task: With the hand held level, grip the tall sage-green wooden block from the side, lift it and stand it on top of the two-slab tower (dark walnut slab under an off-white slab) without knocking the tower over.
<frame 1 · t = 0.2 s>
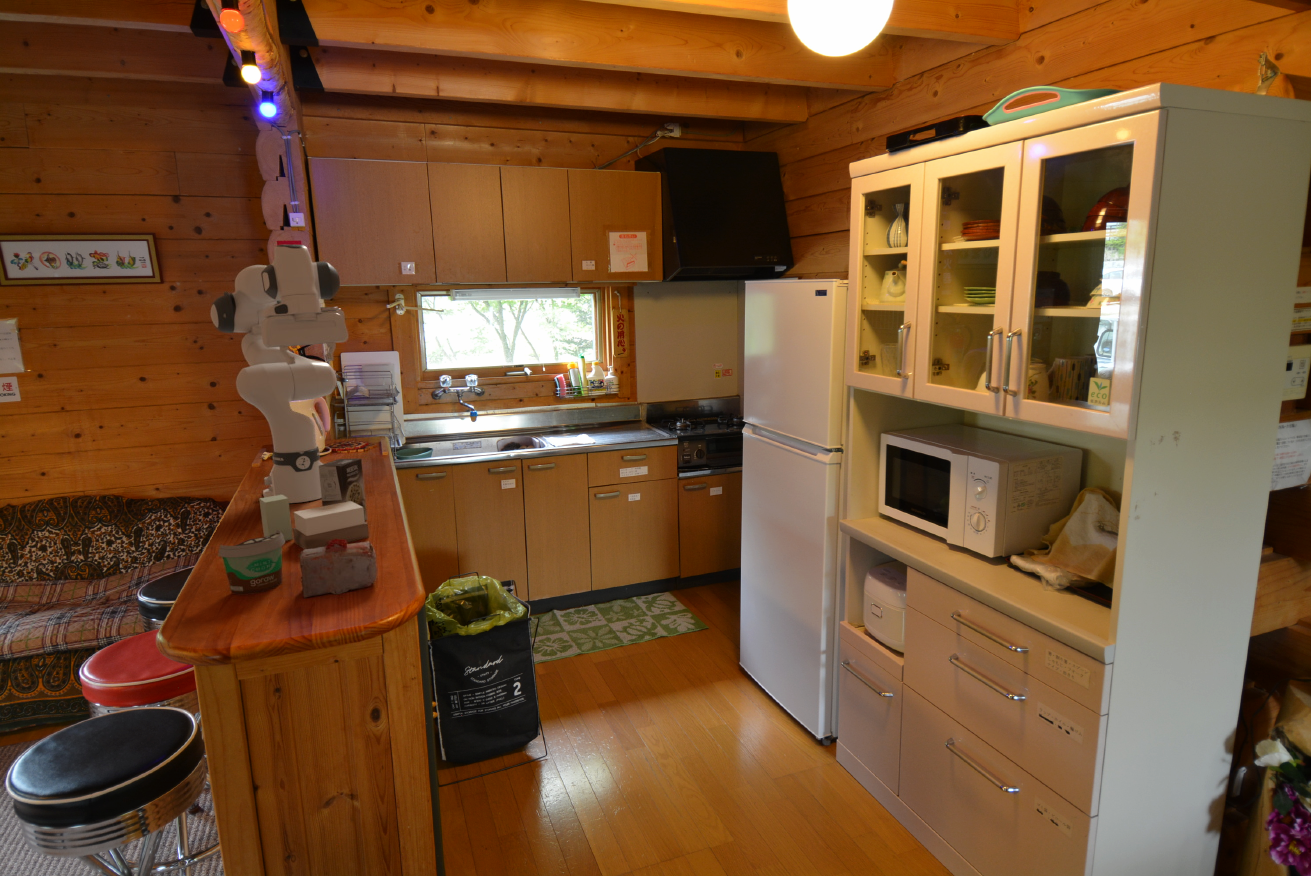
hand: (310, 362, 191), 40 cm above the table, tool pointing down, fingers open, 8 cm apart
walnut slab: (332, 542, 176), on the table
food item: (341, 589, 145), on the table
white slab: (330, 526, 175), point 3 cm above the table
green block: (278, 539, 177), on the table
coffee box: (346, 525, 188), on the table
food container: (264, 588, 146), on the table
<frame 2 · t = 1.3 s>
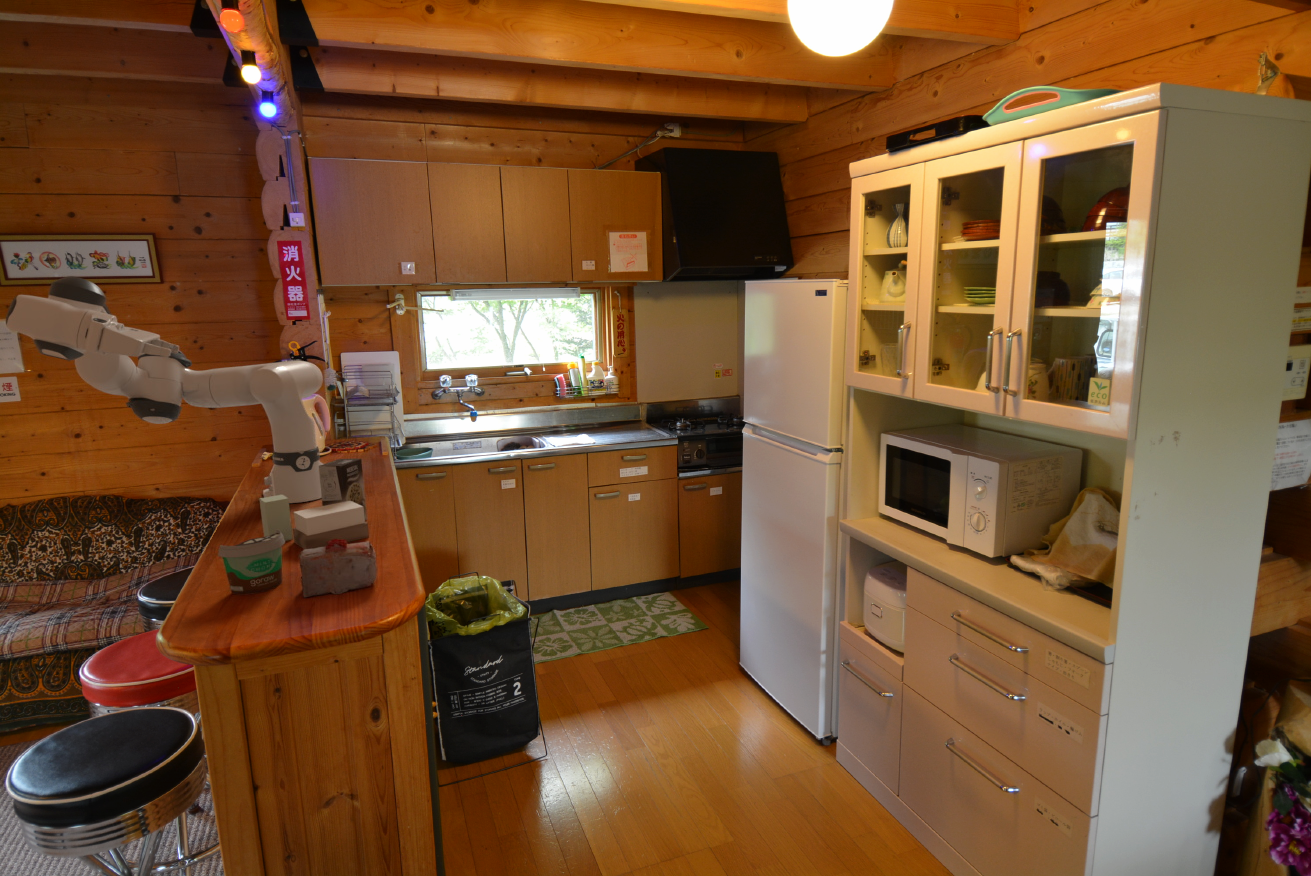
hand: (174, 351, 168), 45 cm above the table, tool tilted 70°, fingers open, 8 cm apart
walnut slab: (332, 541, 176), on the table, touching white slab
white slab: (330, 525, 175), point 3 cm above the table, touching walnut slab
everything else where it was.
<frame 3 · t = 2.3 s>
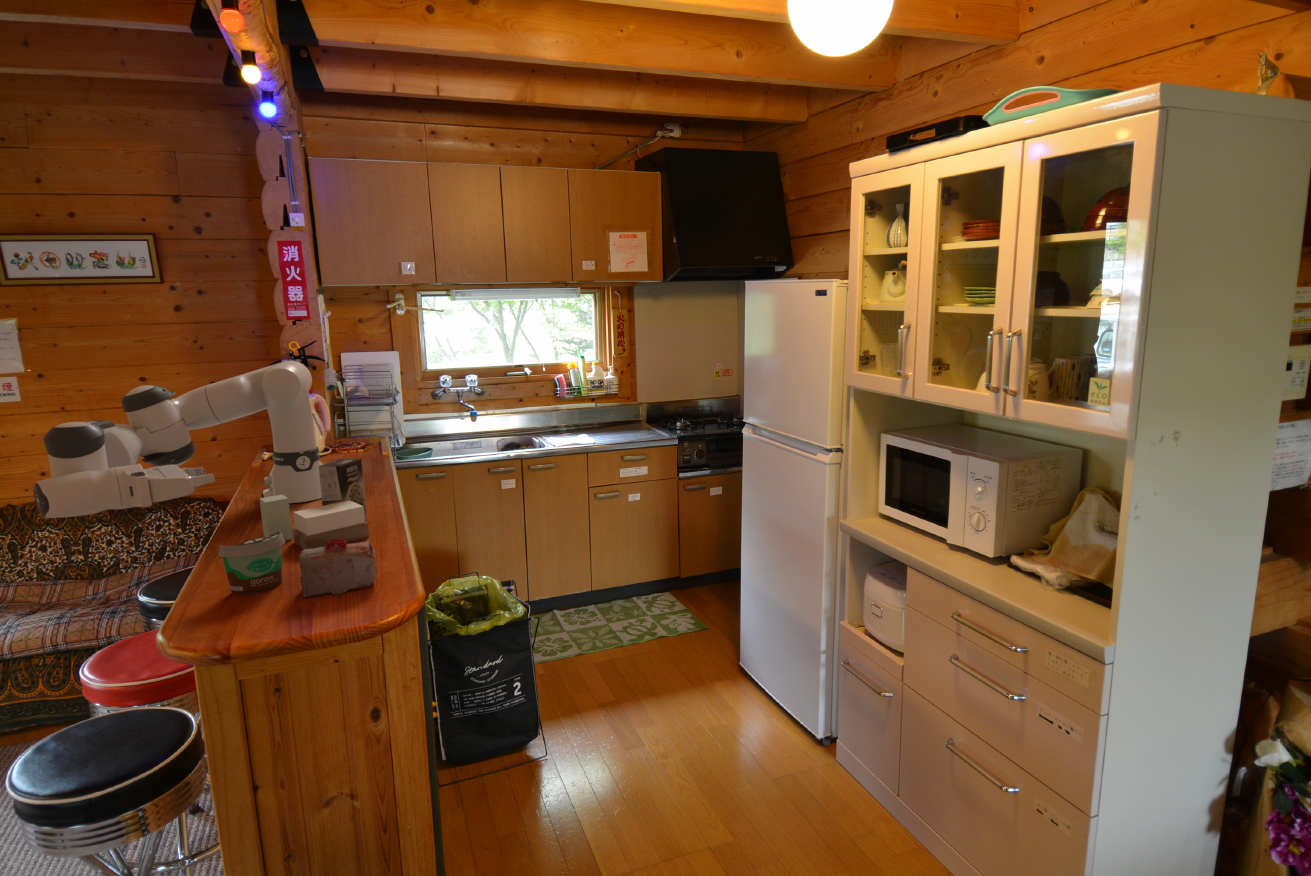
hand: (209, 474, 166), 18 cm above the table, tool horizontal, fingers open, 8 cm apart
nothing on the table moved.
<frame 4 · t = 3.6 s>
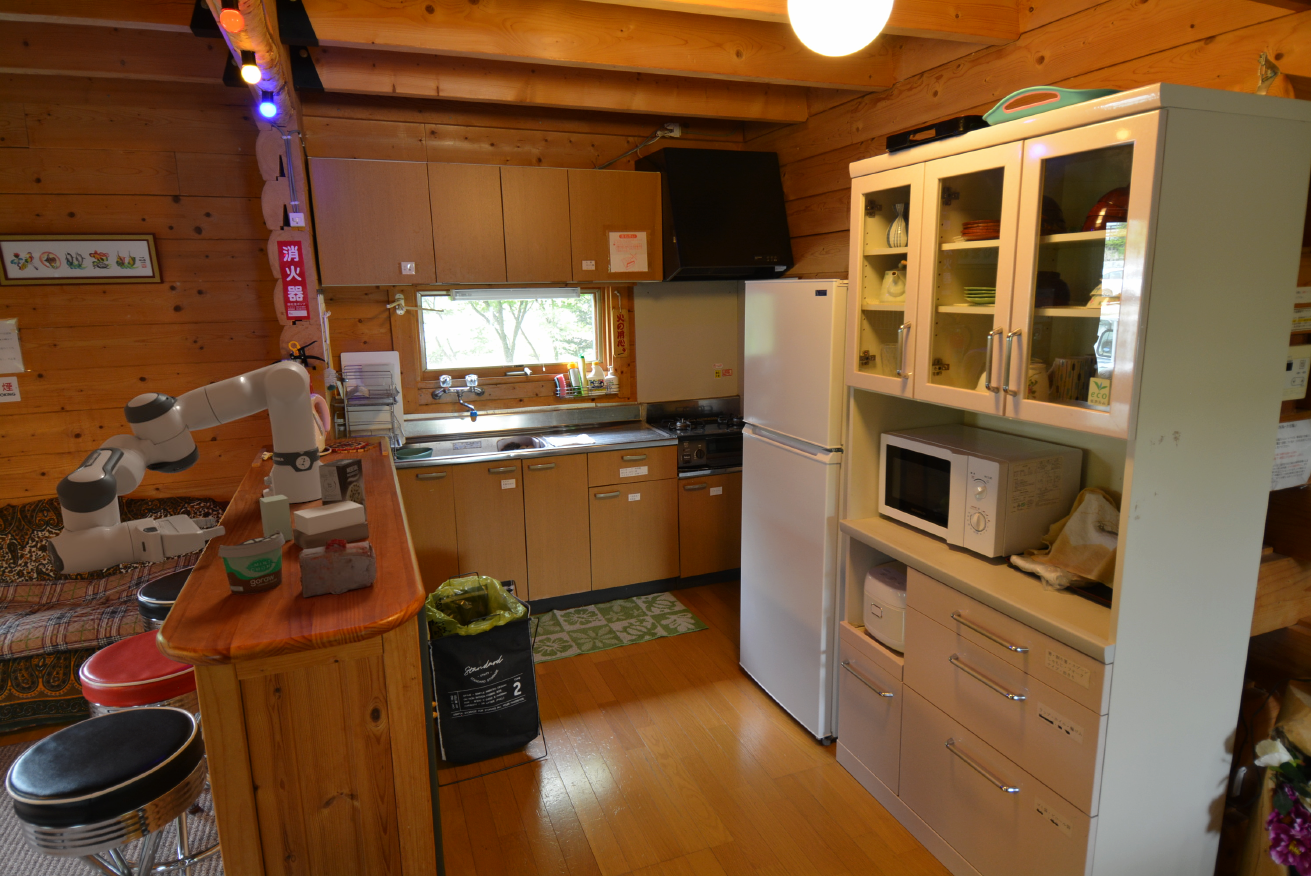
hand: (219, 525, 168), 6 cm above the table, tool horizontal, fingers open, 8 cm apart
nothing on the table moved.
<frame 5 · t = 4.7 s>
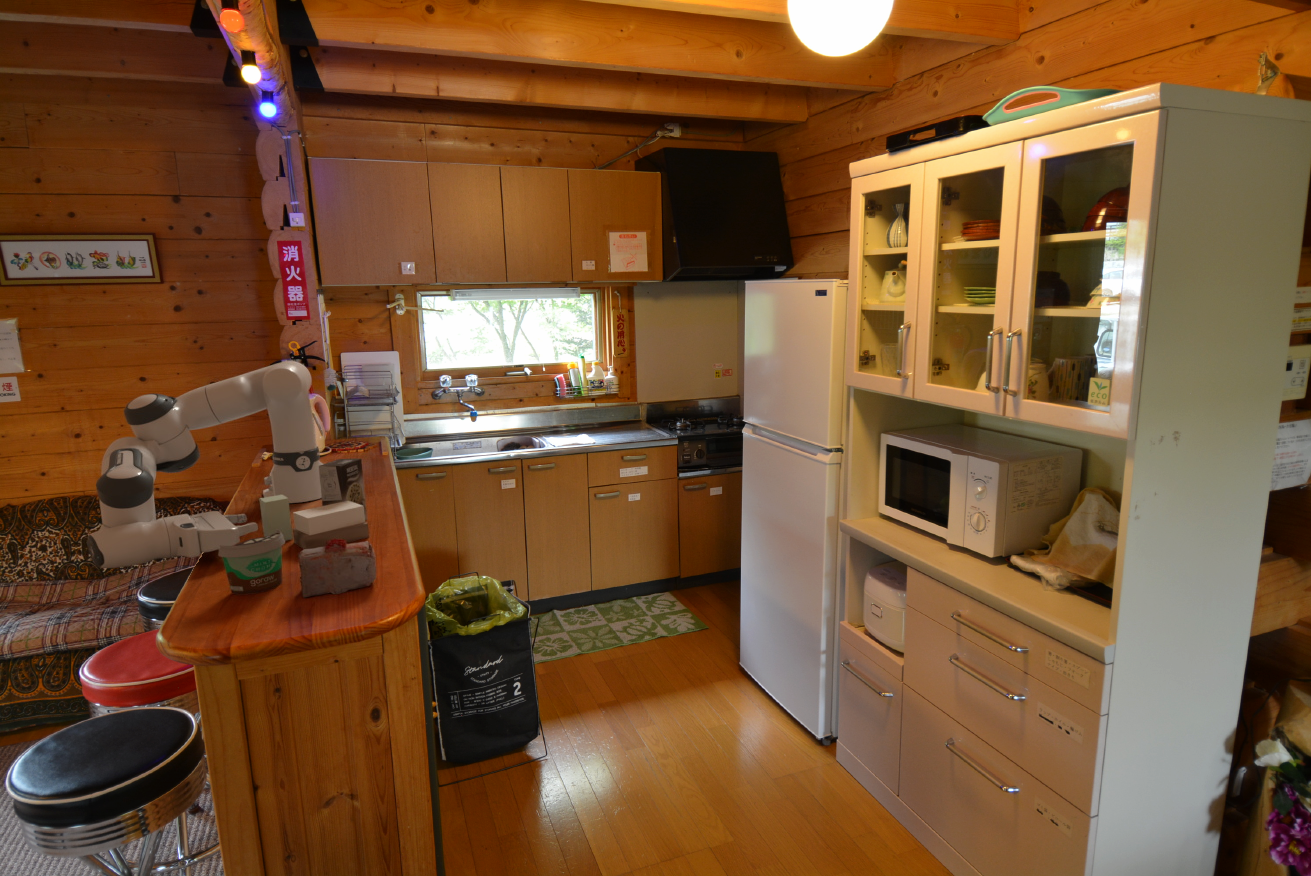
hand: (251, 521, 172), 5 cm above the table, tool horizontal, fingers open, 8 cm apart
nothing on the table moved.
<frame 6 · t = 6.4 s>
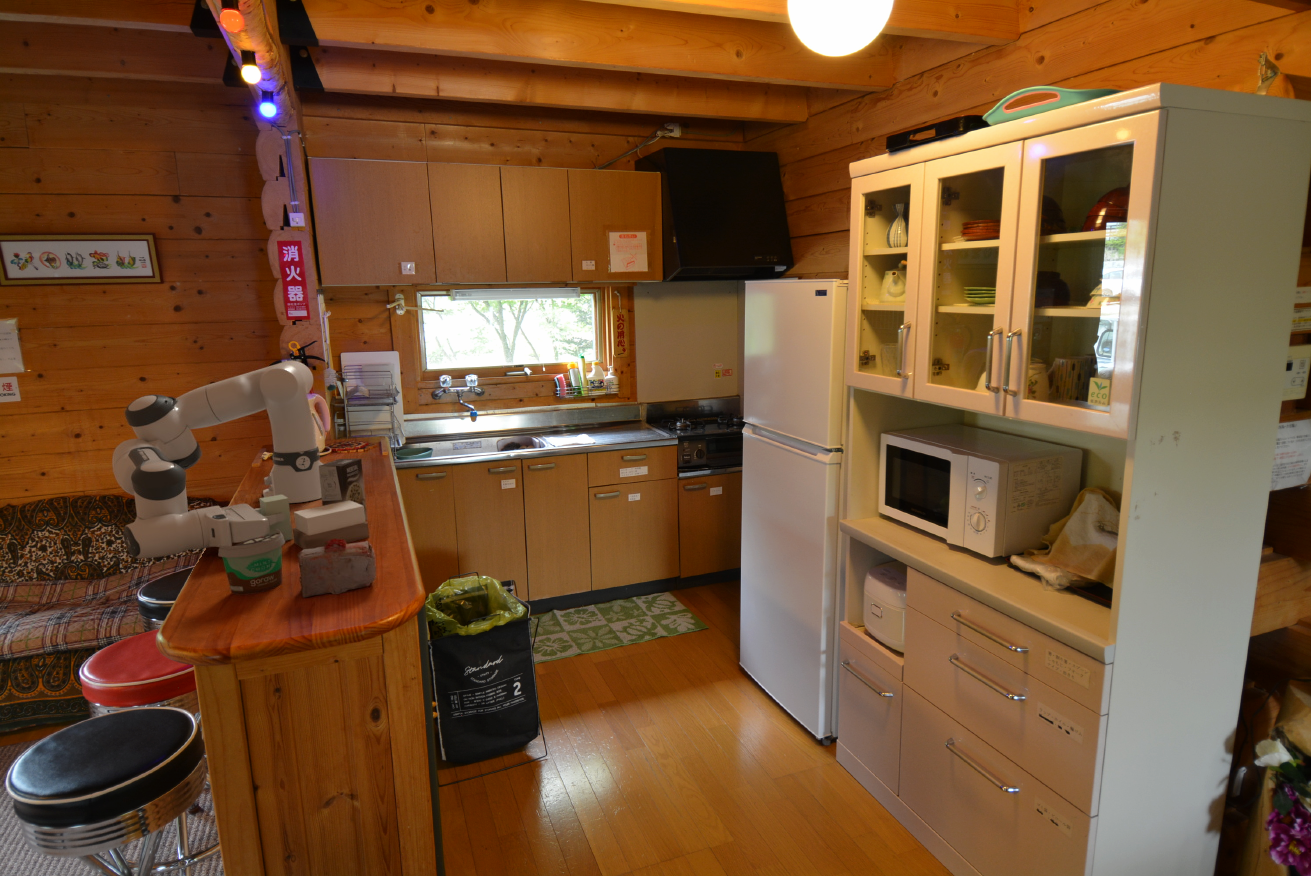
hand: (279, 513, 177), 6 cm above the table, tool horizontal, fingers closed on green block, 5 cm apart
green block: (278, 539, 177), on the table, touching gripper
everything else where it was.
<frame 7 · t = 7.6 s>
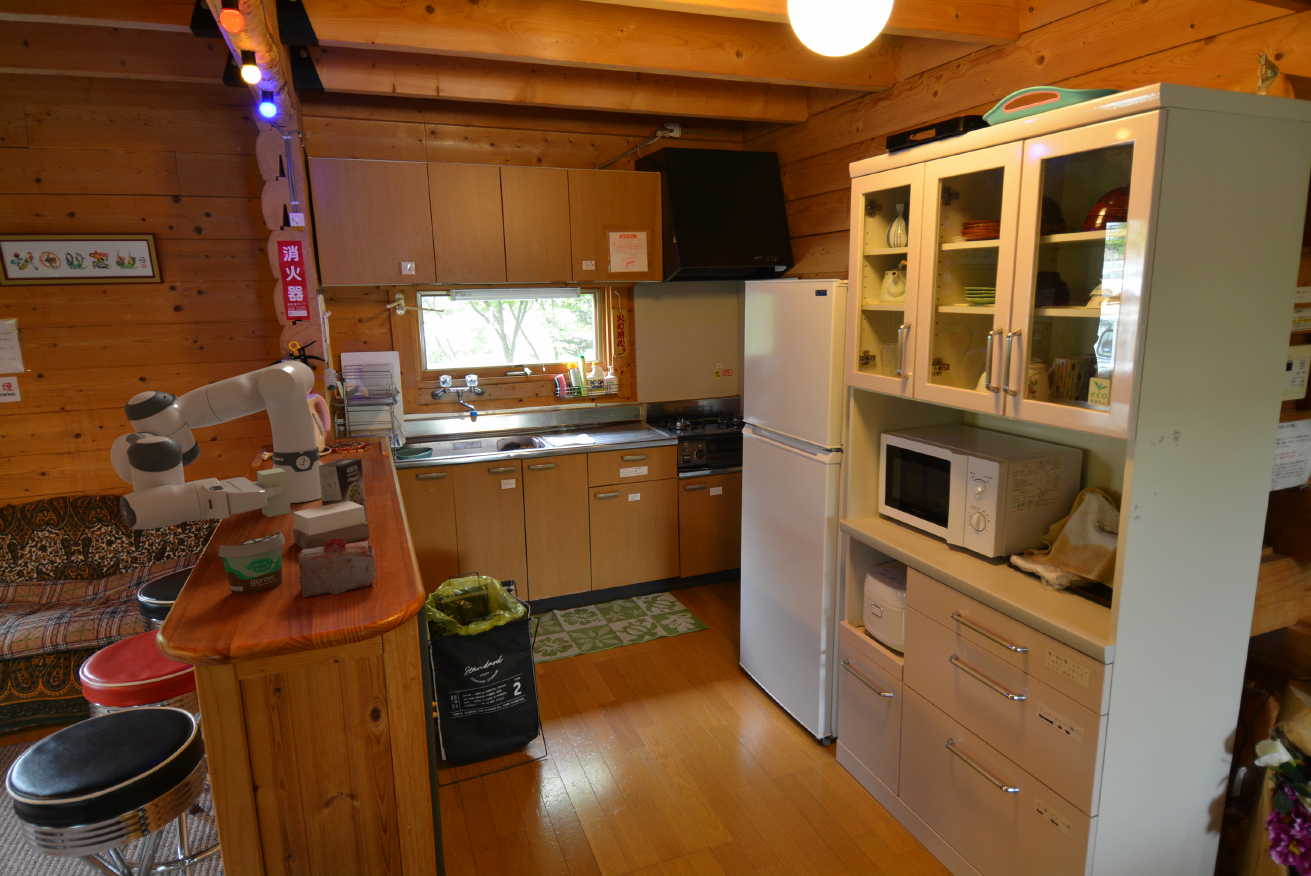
hand: (277, 486, 175), 13 cm above the table, tool horizontal, fingers closed on green block, 5 cm apart
green block: (276, 512, 176), point 7 cm above the table, touching gripper
everything else where it was.
when the fingers open (15 cm above the table, at t = 10.9 s): green block drops 1 cm, resting on white slab.
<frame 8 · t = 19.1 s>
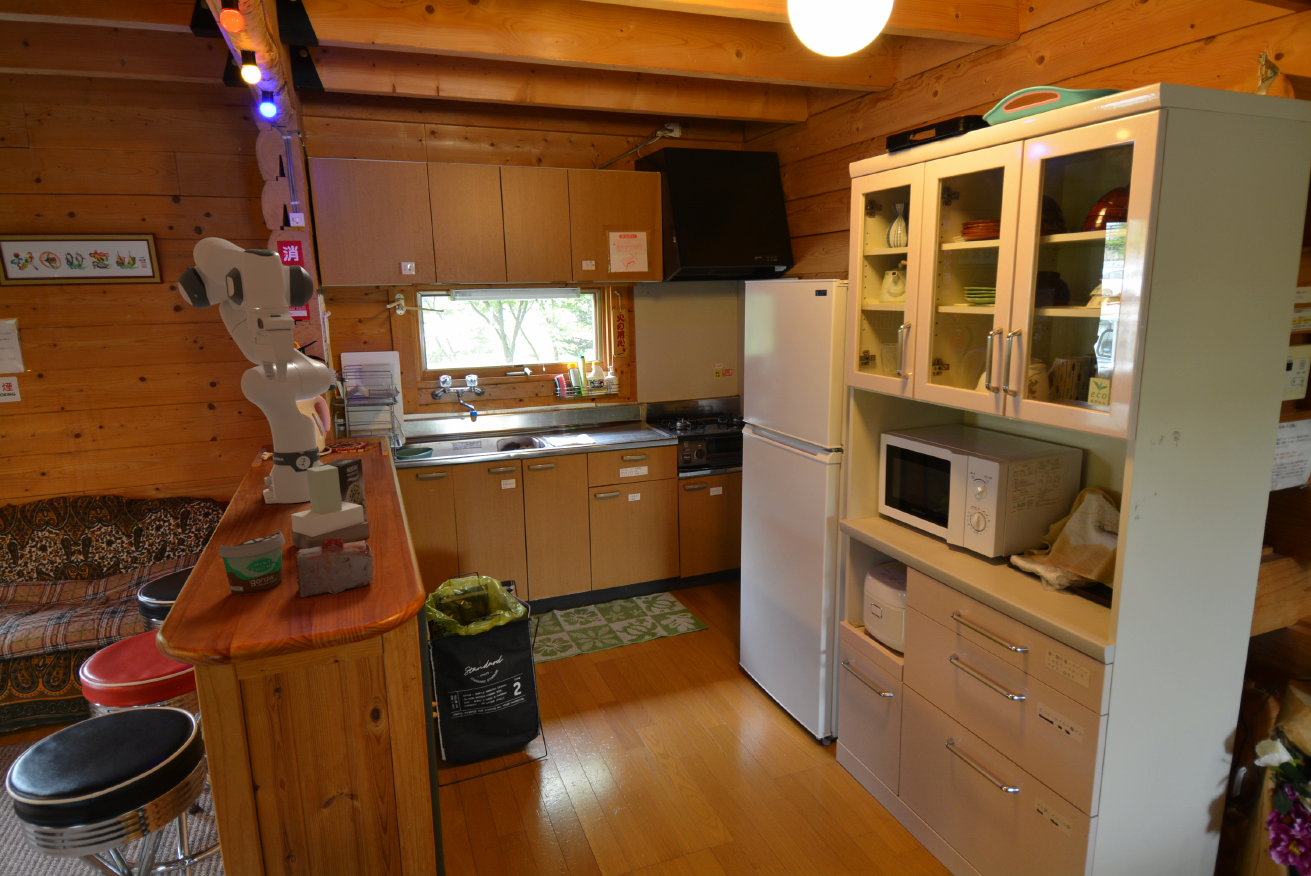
hand: (276, 381, 174), 37 cm above the table, tool pointing down, fingers open, 8 cm apart
white slab: (329, 526, 174), point 4 cm above the table, touching green block, walnut slab
green block: (326, 510, 173), point 8 cm above the table, touching white slab
at the end: green block 0.3 cm off-centre on the white slab, point 4.0 cm above the white slab's base; green block tilted 0°; white slab tilted 0° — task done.
